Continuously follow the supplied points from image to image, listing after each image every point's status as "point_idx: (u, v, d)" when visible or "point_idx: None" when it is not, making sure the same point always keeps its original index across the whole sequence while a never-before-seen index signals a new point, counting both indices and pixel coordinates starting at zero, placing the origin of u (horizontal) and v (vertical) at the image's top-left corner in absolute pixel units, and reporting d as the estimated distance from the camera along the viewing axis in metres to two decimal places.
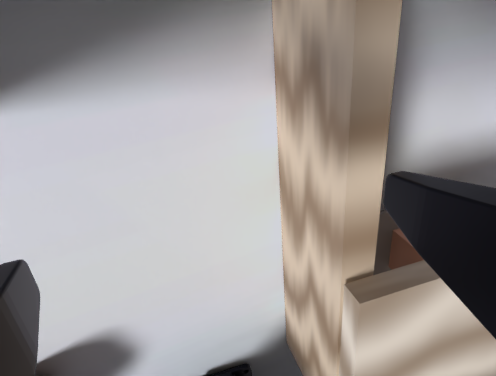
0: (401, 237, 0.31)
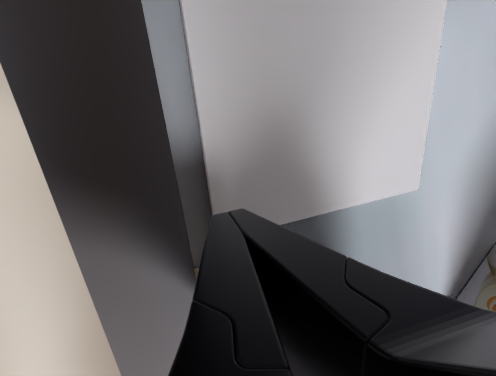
0: None
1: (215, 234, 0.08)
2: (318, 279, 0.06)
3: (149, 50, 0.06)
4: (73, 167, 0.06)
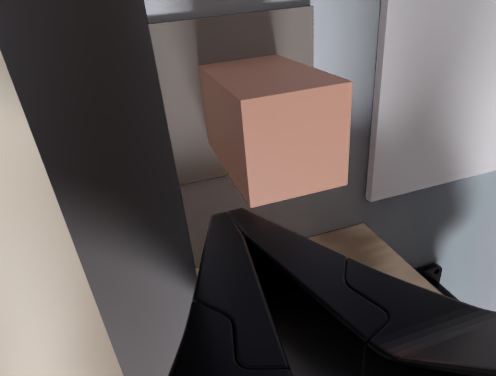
0: (214, 150, 0.19)
1: (215, 234, 0.08)
2: (318, 279, 0.06)
3: (152, 51, 0.06)
4: (76, 167, 0.06)
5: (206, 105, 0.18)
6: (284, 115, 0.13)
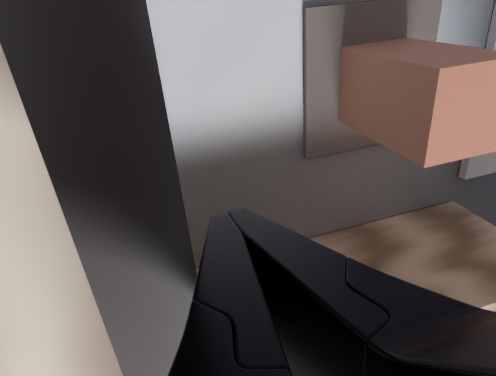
0: (349, 125, 0.21)
1: (215, 234, 0.08)
2: (318, 279, 0.06)
3: (153, 51, 0.06)
4: (77, 166, 0.06)
5: (346, 83, 0.20)
6: (469, 83, 0.14)
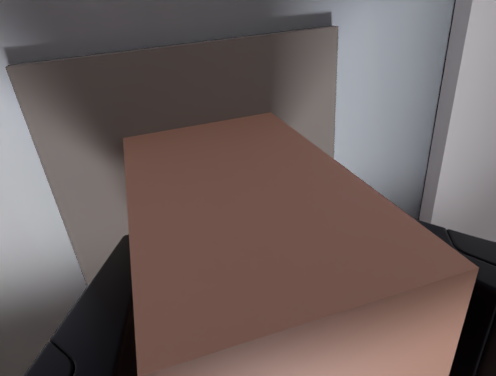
0: None
1: (114, 259, 0.07)
2: None
3: None
4: None
5: None
6: None
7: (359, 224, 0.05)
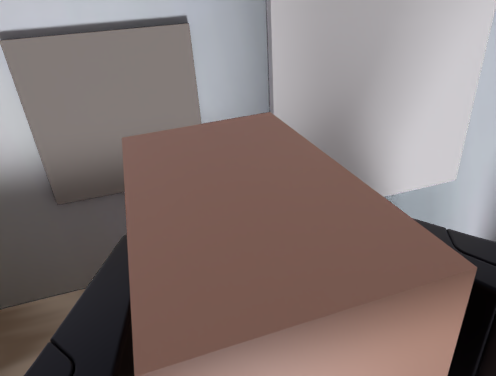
0: None
1: (114, 259, 0.07)
2: None
3: None
4: None
5: None
6: None
7: (357, 224, 0.05)
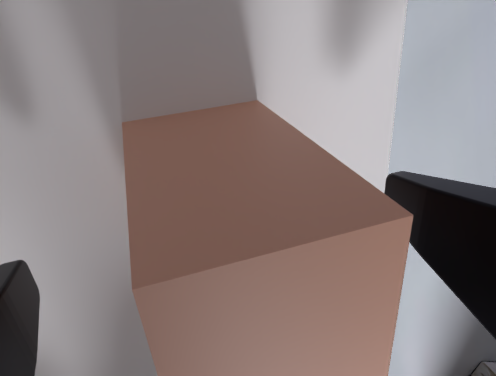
0: None
1: None
2: None
3: None
4: None
5: None
6: (252, 301, 0.05)
7: (321, 186, 0.06)
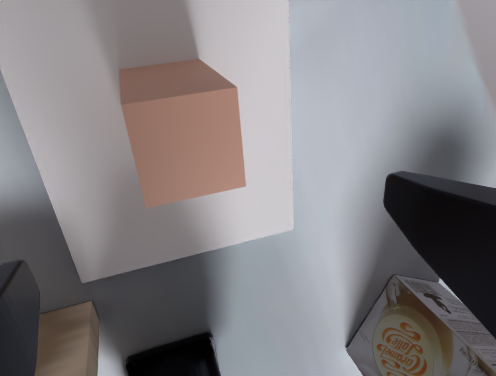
0: None
1: None
2: None
3: None
4: None
5: None
6: (169, 119, 0.13)
7: (207, 82, 0.14)
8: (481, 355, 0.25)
